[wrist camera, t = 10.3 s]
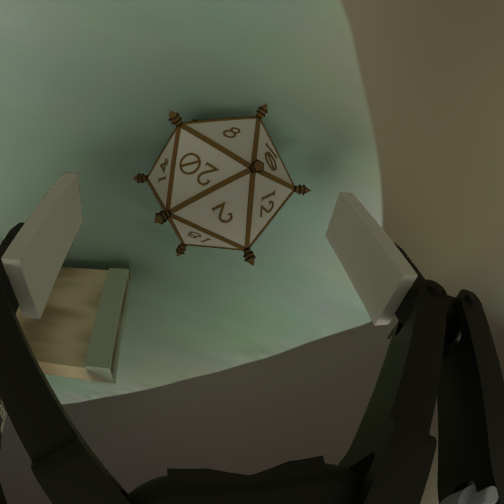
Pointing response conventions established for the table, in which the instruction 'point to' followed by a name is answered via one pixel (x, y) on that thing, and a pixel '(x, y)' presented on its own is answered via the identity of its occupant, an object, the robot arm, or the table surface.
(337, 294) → the table surface
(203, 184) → the game die
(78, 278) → the gate
